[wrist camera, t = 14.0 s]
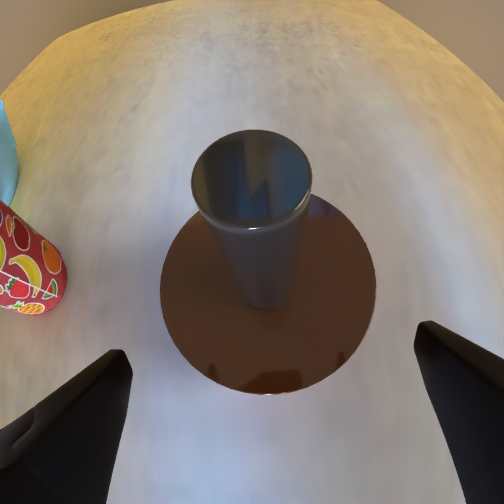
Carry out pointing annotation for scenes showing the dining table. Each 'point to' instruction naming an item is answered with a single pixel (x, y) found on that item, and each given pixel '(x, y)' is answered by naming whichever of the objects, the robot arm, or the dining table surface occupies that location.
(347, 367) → the dining table surface
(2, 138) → the teapot
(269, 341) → the brown disc with post
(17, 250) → the smoothie
